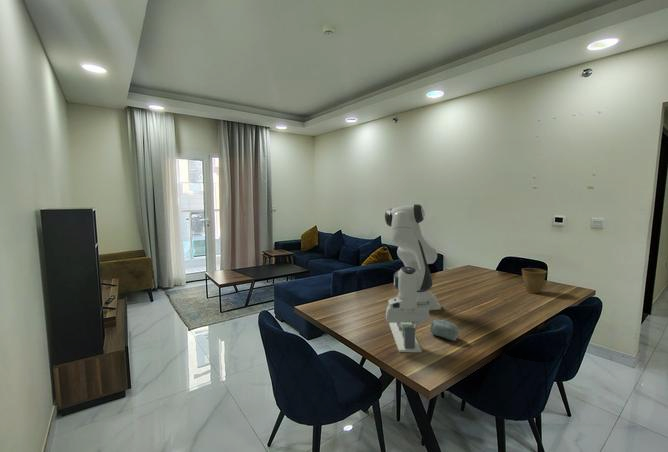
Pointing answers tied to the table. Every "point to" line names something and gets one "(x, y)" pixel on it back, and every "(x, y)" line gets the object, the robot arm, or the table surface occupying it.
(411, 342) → the stand
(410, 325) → the sleeve
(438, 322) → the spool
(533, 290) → the plant pot
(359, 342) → the table surface
